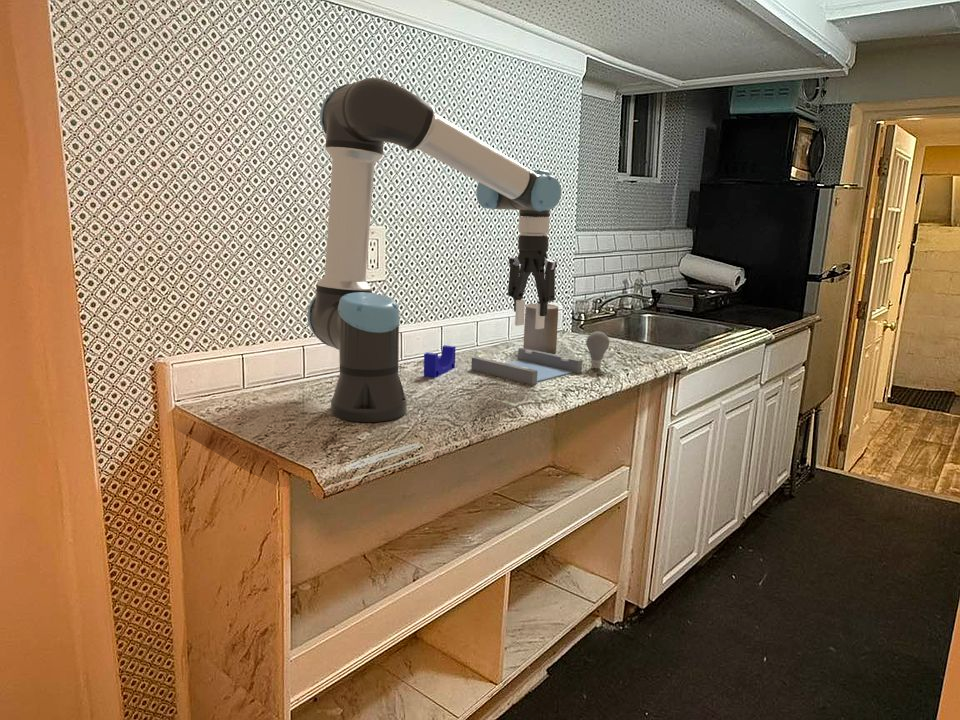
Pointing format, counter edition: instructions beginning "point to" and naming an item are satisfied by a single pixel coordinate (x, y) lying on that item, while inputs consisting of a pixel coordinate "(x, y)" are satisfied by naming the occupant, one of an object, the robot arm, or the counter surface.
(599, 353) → the light bulb
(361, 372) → the robot arm
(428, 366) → the cable clip
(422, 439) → the counter surface
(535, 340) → the pillar candle
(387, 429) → the counter surface
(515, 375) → the blue panel with rails
